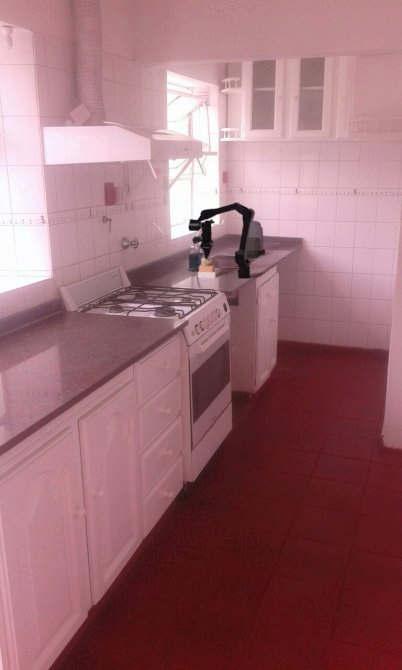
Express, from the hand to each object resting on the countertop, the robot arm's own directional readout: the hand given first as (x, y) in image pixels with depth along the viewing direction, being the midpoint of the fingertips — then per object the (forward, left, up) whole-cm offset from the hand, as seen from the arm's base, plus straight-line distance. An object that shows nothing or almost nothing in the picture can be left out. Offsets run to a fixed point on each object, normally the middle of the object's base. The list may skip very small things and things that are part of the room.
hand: (207, 257), depth 361 cm
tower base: (0, 0, -11) cm, 11 cm away
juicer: (-26, -83, -11) cm, 88 cm away
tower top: (0, 0, -8) cm, 8 cm away
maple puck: (0, 0, -4) cm, 4 cm away
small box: (+8, -21, -11) cm, 25 cm away
